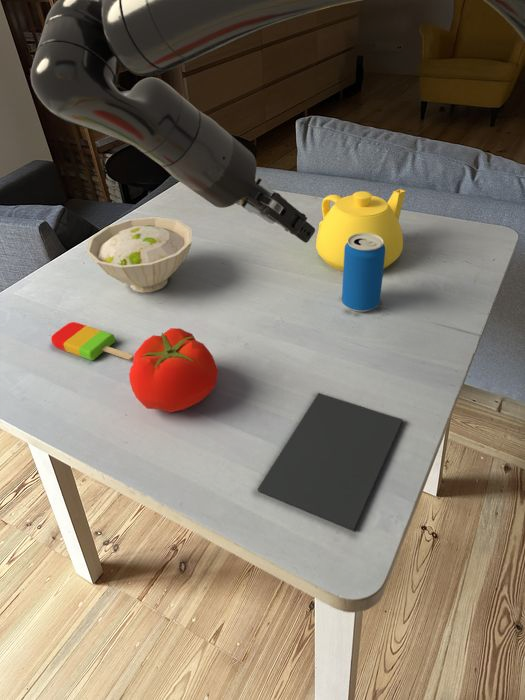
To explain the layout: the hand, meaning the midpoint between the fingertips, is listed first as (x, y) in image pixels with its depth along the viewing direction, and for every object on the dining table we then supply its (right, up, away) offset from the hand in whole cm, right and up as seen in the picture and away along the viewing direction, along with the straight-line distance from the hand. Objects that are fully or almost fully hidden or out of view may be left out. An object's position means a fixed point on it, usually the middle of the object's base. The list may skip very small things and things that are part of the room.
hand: (290, 224), depth 72 cm
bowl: (-25, -4, +29) cm, 39 cm away
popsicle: (-31, -17, +14) cm, 38 cm away
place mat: (+5, -30, -5) cm, 31 cm away
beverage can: (+13, -9, +20) cm, 26 cm away
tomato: (-16, -23, +5) cm, 29 cm away
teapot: (+16, +3, +35) cm, 38 cm away
